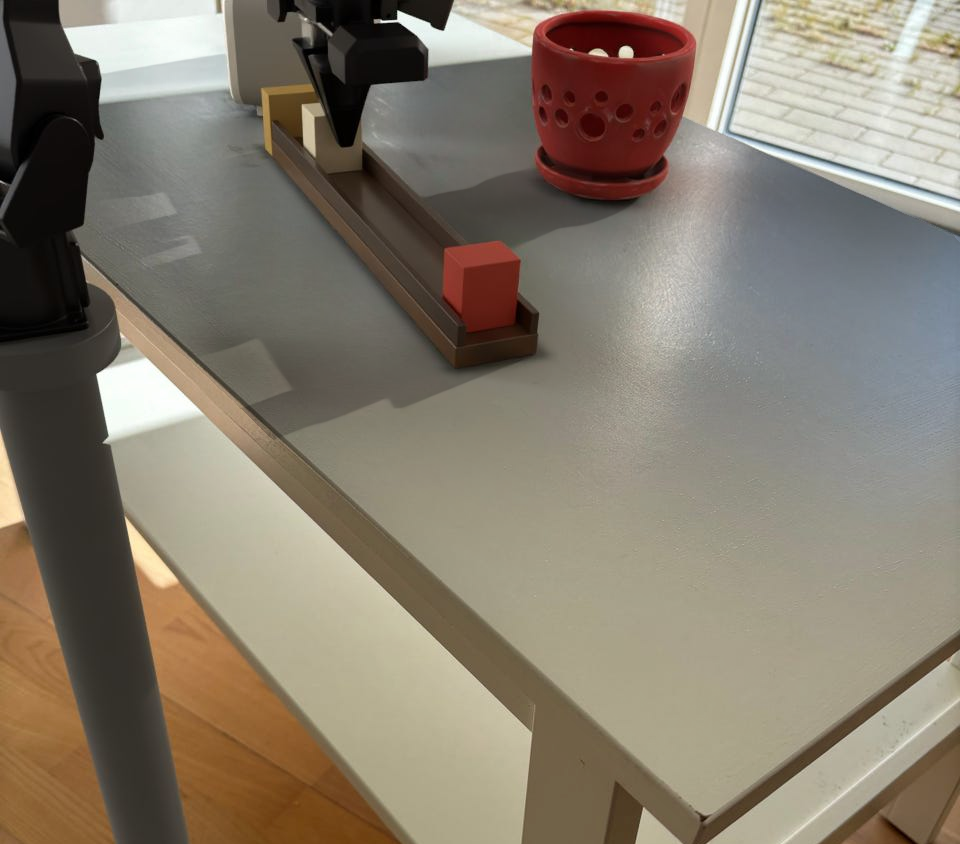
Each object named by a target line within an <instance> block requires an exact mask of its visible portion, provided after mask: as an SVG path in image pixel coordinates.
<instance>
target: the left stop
mask: <svg viewBox="0 0 960 844" xmlns="http://www.w3.org/2000/svg"><path fill="white" fill-rule="evenodd" d="M261 92H262V107H263V116H262V121H263V122H262V123H263V134H264V135H263V136H264V149H265V150H266V151H267V152H268V154H269V155H270V156H271V157H272V158H273V156H272V141H271V140H272V139H273V138H272V124H271V121H274V120H278V121H279V122H280V123H281V124H282V125H283V126H284V128H285V129H286V130H287V131H288V132H289V133H290V134H291V135H292V136H293V137H301V136H303V121H302V104H312V103H320V102H319V100H318V98H317V96H316V93H315V91H314V89H313V86H312V84H305V85H292V86H279V87H266V88H261Z"/></svg>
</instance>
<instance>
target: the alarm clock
mask: <svg viewBox="0 0 960 844" xmlns="http://www.w3.org/2000/svg"><path fill="white" fill-rule="evenodd" d="M222 19H223V20H222V21H223V31H224V40H225V41H224V42H225V54H226V64H227V78H228V87H229V92H230V95H231V98H232V100H233V101H234V102H235V103H236V104H239V105H248V106H249V105H250V106H256V116H258V117H259V116H260V117H263V107H262V92H261V88H266V87H279V86H292V85H305V84H311V82H310V80H309V77H308V75H307V73H306V71H305V69H304V66H303V64H302V62H301V60H300V57H299V55H298V53H297V51H296V49H295V48H294V47H293V44H292V39H293V38H298V37H302V24H301V19H300V18H299V17H298V16H297V13H294V12H287V16H286V20H285V22H276V21H275V20H274V19H273V18H272V17H271V16H270V15H269V14H268V13H267V0H222ZM374 23H382V20H381V19H374Z"/></svg>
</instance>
